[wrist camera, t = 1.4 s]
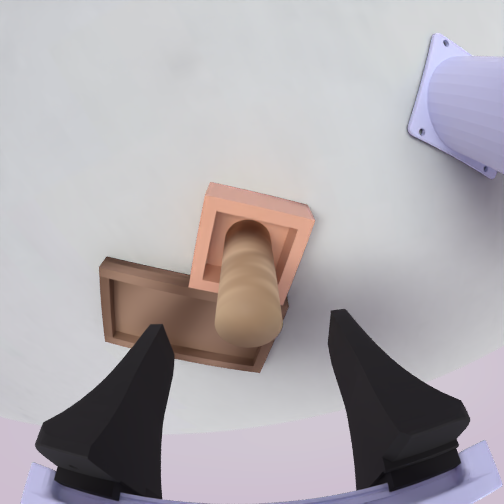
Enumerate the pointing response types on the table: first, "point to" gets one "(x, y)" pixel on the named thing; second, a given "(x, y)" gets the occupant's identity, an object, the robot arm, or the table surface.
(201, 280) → the open box
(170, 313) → the tray
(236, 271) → the dowel
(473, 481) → the robot arm
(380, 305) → the table surface
